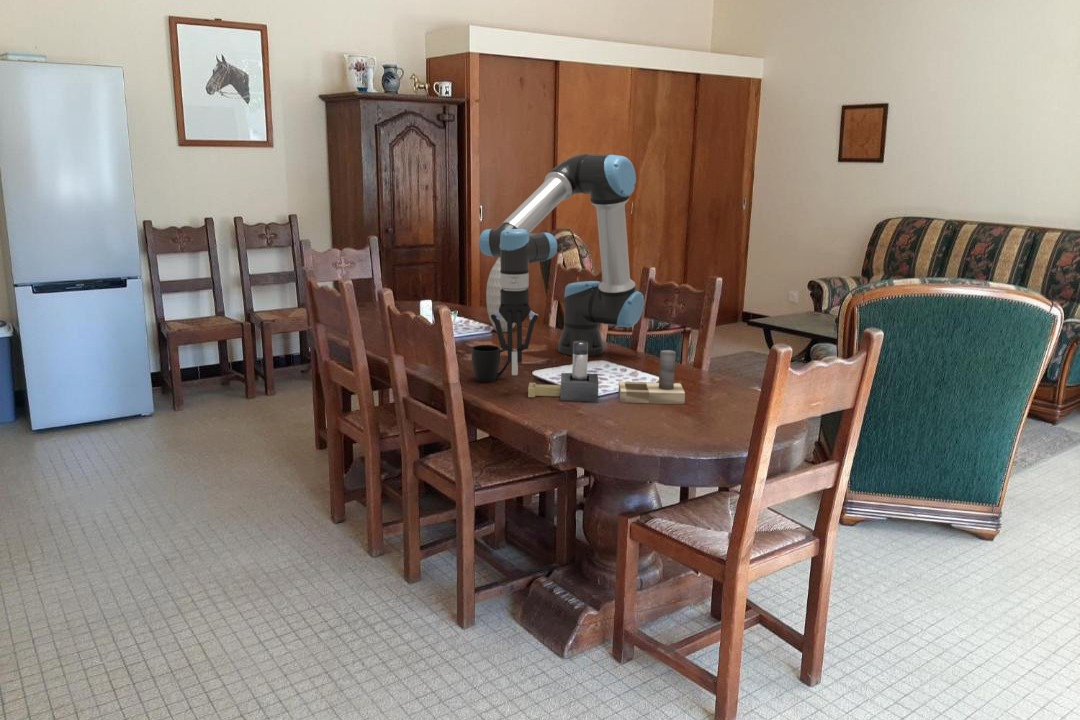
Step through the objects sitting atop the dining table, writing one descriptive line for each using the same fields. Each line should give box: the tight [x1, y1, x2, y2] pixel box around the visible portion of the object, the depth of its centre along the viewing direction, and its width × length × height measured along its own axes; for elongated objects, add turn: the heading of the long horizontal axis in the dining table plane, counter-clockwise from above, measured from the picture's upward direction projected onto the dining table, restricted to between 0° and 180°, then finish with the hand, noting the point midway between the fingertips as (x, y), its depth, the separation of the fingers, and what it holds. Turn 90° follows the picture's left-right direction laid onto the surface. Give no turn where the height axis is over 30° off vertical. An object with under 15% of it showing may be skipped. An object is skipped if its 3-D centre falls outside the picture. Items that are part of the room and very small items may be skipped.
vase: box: [485, 257, 517, 333], centre depth 310 cm, size 13×13×28 cm
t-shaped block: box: [527, 382, 561, 398], centre depth 234 cm, size 6×11×2 cm, turn 88°
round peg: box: [571, 341, 589, 381], centre depth 232 cm, size 4×4×15 cm
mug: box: [471, 344, 510, 384], centre depth 247 cm, size 8×12×10 cm
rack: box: [618, 349, 686, 405], centre depth 232 cm, size 10×17×13 cm, turn 88°
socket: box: [559, 372, 600, 403], centre depth 233 cm, size 10×10×5 cm
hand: (514, 373), depth 234 cm, fingers closed
